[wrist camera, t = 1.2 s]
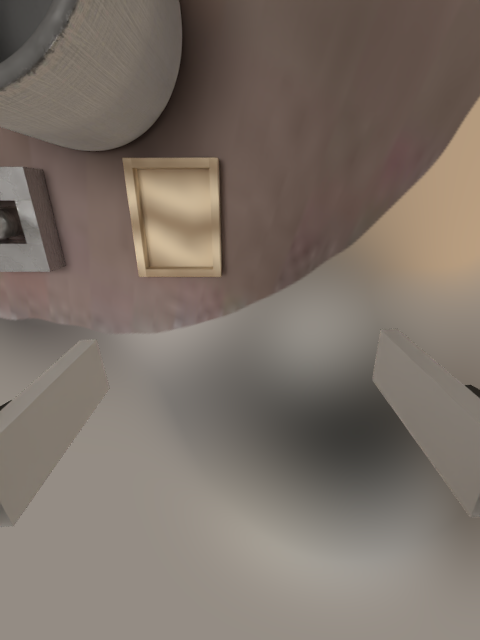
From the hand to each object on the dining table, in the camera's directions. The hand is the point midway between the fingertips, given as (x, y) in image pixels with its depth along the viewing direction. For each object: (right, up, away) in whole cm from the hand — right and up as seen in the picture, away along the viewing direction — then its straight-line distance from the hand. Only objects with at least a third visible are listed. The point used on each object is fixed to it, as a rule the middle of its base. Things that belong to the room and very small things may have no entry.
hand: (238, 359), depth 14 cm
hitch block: (-29, +15, +25) cm, 41 cm away
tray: (-8, +15, +24) cm, 30 cm away
